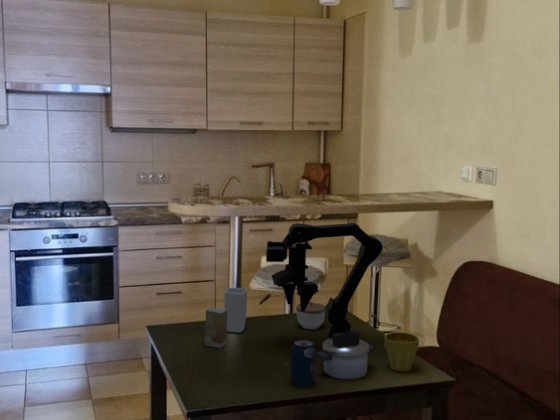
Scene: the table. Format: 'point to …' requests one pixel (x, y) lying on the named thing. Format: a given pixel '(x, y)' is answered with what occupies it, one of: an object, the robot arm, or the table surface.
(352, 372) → the pot
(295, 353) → the soda can
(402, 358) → the plant pot
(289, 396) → the table surface
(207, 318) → the skincare box
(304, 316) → the lidded jar
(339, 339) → the lid
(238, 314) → the cup
